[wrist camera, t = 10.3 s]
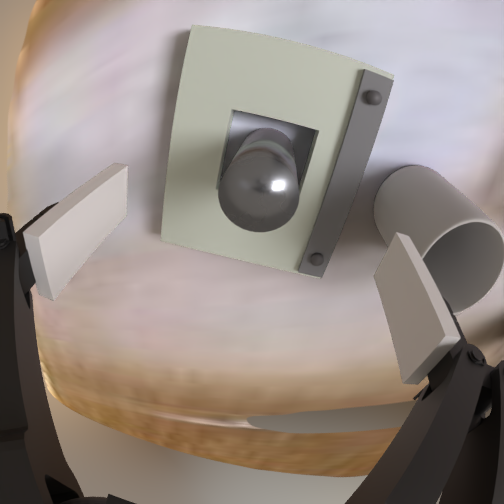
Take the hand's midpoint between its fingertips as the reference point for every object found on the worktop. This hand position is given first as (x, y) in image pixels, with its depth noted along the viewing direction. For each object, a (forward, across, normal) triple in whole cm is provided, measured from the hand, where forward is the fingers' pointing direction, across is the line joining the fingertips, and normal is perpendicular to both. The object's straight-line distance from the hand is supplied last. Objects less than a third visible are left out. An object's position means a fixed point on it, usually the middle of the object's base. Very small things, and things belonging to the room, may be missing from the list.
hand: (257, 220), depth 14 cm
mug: (+14, +16, -3) cm, 21 cm away
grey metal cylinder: (+14, 0, -1) cm, 14 cm away
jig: (+14, 0, -1) cm, 14 cm away
